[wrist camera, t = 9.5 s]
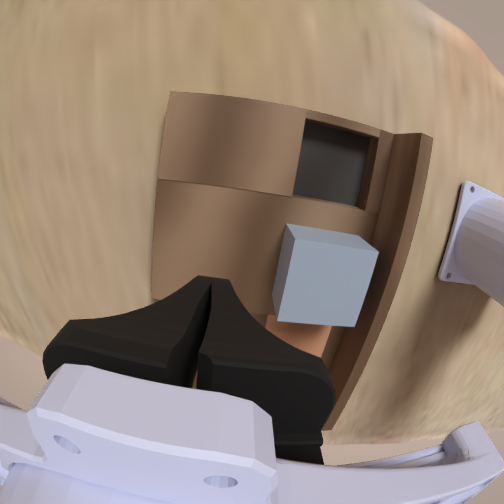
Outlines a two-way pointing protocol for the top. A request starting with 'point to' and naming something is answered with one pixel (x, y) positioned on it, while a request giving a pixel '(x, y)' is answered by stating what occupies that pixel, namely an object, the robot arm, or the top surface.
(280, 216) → the board
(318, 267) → the block
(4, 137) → the top surface
